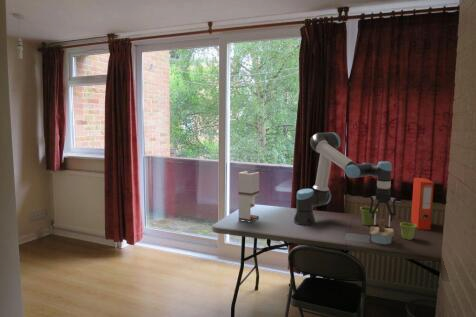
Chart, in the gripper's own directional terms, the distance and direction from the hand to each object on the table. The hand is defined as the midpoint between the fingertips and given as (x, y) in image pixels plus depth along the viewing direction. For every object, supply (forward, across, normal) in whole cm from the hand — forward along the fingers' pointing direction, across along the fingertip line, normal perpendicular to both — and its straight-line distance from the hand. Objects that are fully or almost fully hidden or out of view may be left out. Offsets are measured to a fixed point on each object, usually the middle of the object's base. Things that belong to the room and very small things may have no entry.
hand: (381, 225), depth 207 cm
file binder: (+10, +24, +45) cm, 52 cm away
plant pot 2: (+10, +14, +13) cm, 22 cm away
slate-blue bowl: (+10, 0, 0) cm, 10 cm away
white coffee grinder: (+10, -90, +10) cm, 92 cm away
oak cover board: (+4, 0, 0) cm, 4 cm away
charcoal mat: (+10, -14, 0) cm, 17 cm away
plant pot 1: (+10, -10, +33) cm, 36 cm away
